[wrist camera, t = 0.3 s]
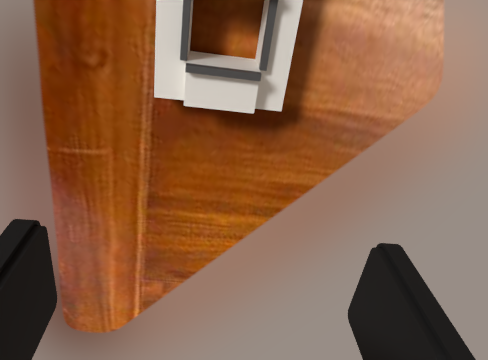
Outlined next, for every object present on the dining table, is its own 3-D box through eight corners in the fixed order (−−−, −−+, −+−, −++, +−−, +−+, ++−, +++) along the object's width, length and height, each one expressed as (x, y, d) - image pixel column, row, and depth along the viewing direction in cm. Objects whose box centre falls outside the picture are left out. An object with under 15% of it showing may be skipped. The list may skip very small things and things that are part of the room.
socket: (164, -82, 31) (154, -90, 26) (305, -58, 33) (321, -61, 28) (159, 86, 38) (150, 105, 33) (276, 99, 39) (285, 120, 34)
